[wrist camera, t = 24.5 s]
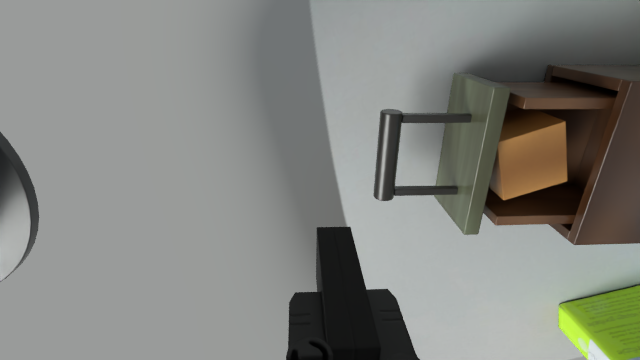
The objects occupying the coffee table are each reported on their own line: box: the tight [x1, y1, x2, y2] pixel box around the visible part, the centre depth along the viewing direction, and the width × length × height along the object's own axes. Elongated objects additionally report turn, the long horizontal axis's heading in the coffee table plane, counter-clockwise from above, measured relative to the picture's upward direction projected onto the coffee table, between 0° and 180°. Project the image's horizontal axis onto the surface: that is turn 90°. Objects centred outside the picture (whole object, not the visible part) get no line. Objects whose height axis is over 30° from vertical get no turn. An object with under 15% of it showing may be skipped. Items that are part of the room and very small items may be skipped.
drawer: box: [374, 73, 618, 235], centre depth 30 cm, size 20×11×7 cm, turn 89°
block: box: [489, 108, 567, 200], centre depth 30 cm, size 5×5×5 cm
